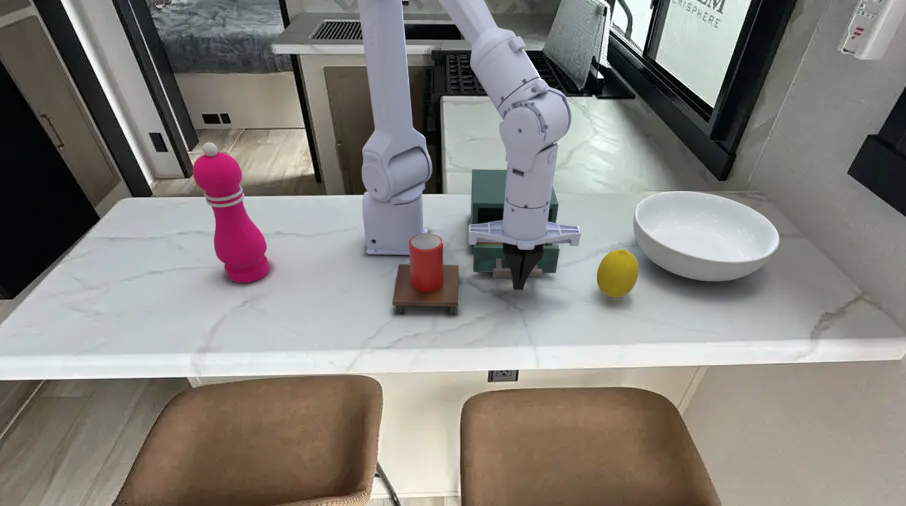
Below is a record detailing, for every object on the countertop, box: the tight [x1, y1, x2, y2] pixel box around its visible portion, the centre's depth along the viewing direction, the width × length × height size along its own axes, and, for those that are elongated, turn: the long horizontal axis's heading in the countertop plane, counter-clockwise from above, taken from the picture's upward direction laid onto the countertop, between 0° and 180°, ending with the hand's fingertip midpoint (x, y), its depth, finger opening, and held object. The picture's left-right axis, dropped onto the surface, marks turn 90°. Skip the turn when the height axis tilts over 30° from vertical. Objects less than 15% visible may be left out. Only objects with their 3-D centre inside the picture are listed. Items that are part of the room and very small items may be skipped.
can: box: [408, 232, 444, 292], centre depth 71 cm, size 5×5×7 cm
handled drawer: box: [472, 242, 561, 279], centre depth 79 cm, size 13×16×4 cm
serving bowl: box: [632, 190, 780, 282], centre depth 80 cm, size 21×21×7 cm
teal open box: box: [470, 168, 559, 254], centre depth 85 cm, size 13×12×9 cm
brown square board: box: [392, 263, 460, 315], centre depth 74 cm, size 9×9×2 cm
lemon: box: [596, 248, 639, 298], centre depth 72 cm, size 6×6×8 cm
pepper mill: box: [192, 141, 270, 284], centre depth 72 cm, size 7×7×20 cm
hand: (517, 285), depth 73 cm, fingers closed, pressing on handled drawer
